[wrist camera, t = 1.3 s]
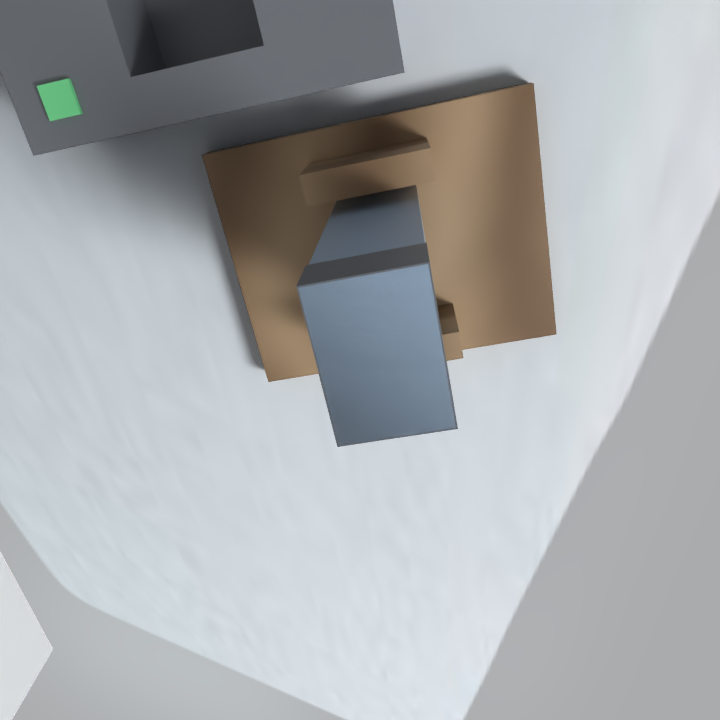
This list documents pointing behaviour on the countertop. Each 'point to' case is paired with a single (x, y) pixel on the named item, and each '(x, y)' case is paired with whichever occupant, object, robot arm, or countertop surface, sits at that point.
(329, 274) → the plug
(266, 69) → the port box
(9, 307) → the countertop surface
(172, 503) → the countertop surface
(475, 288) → the holster
